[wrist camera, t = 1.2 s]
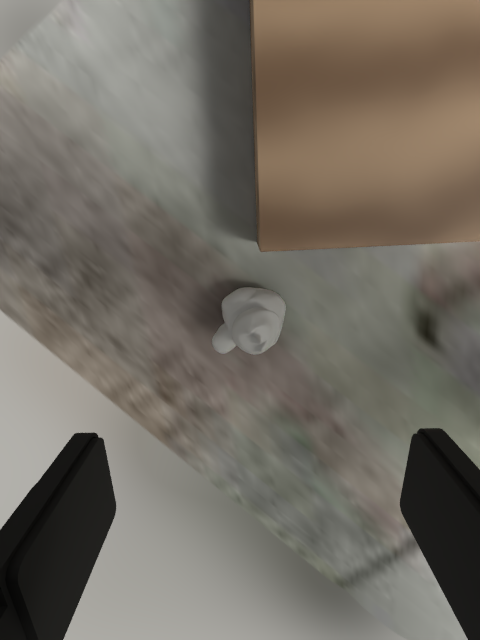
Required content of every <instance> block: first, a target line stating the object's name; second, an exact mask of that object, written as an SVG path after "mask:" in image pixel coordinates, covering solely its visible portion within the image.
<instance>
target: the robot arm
mask: <svg viewBox="0 0 480 640" xmlns="http://www.w3.org/2000/svg"><path fill="white" fill-rule="evenodd" d="M400 508H401V512H402V514H403V517H404V518H405V520H406V522H407V524H408V526H409V528H410V530H411V532H412V534H413V536H414V538H415V539H416V541H417V543H418V545H419V547H420V549H421V551H422V553H423V555H424V557H425V558H426V560H427V562H428V564H429V566H430V568H431V570H432V572H433V574H434V576H435V578H436V579H437V581H438V583H439V585H440V587H441V589H442V591H443V593H444V595H445V597H446V598H447V600H448V602H449V604H450V606H451V608H452V610H453V612H454V614H455V616H456V617H457V619H458V621H459V623H460V625H461V627H462V629H463V631H464V633H465V635H466V637H467V638H468V640H480V470H479V468H478V467H477V466H476V465H475V464H474V463H473V462H472V461H471V460H470V459H469V457H468V456H467V455H466V454H465V453H464V452H463V451H462V450H461V449H460V448H459V447H458V445H457V444H456V443H455V442H454V441H453V440H452V439H451V438H450V437H449V436H448V435H447V433H446V432H445V431H444V430H442V429H440V428H427V429H419V430H418V432H417V434H413V436H412V439H411V444H410V450H409V455H408V461H407V466H406V471H405V477H404V482H403V488H402V493H401V498H400ZM115 512H116V501H115V496H114V491H113V486H112V481H111V476H110V470H109V466H108V460H107V455H106V450H105V445H104V440H103V439H102V438H99V437H98V435H97V434H96V433H76V434H74V435H73V436H72V438H71V439H70V440H69V442H68V443H67V444H66V446H65V447H64V448H63V450H62V451H61V452H60V454H59V455H58V456H57V458H56V459H55V460H54V462H53V463H52V464H51V466H50V467H49V468H48V470H47V471H46V472H45V473H44V475H43V476H42V478H41V479H40V480H39V481H38V483H36V485H35V486H34V487H33V488H32V489H31V490H30V491H29V493H28V494H27V496H26V497H25V498H24V499H23V501H22V502H21V504H20V505H19V506H18V507H17V509H16V510H15V511H14V513H13V514H12V515H11V517H10V518H9V519H8V521H7V522H6V523H5V524H4V526H3V527H2V529H1V530H0V640H63V639H64V636H65V634H66V632H67V629H68V627H69V624H70V622H71V620H72V617H73V615H74V612H75V610H76V608H77V605H78V603H79V600H80V598H81V596H82V593H83V591H84V589H85V586H86V584H87V581H88V579H89V576H90V574H91V572H92V569H93V567H94V564H95V562H96V560H97V557H98V555H99V552H100V550H101V548H102V545H103V543H104V541H105V538H106V536H107V533H108V531H109V529H110V526H111V524H112V522H113V519H114V516H115Z"/></svg>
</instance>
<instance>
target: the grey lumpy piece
mask: <svg viewBox="0 0 480 640" xmlns="http://www.w3.org/2000/svg"><path fill="white" fill-rule="evenodd" d="M222 312H223V314H222V315H223V319H224V322H225V323H224V324H223V325H221V326H220V327H219V328H218V330H217V332H216V334H215V335H214V336H213V339H212V345H213V348H214V349H215V350H216V351H217V352H218V353H222V354H225V353H227V352H229V351H230V350H232V349H233V348H234V347H235V346H236V345H237V346H238V347H239V348H240V349H242V350H243V351H245V352H247V353H249V354H254V355H257V354H260V353H263V352H265V351H266V350H268V349H269V348H270V347H271V346H273V345H274V344H275V343H276V342H277V340H278V338H279V336H280V333H281V328H282V325H283V322H284V317H285V312H286V305H285V302H284V301H283V299H282V298H281V296H280V295H279V294H277V293H276V292H274V291H272V290H267V289H263V288H252V287H244V288H239V289H237V290H235V291H234V292H232V293H231V294H229V295H228V296H226V297H225V298H224V300H223V301H222Z"/></svg>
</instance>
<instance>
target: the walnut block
mask: <svg viewBox="0 0 480 640" xmlns="http://www.w3.org/2000/svg"><path fill="white" fill-rule="evenodd" d="M250 30H251V62H252V93H253V125H254V157H255V188H256V220H257V244H258V246H259V249H260V251H261V252H267V251H288V250H309V249H329V248H350V247H370V246H391V245H412V244H432V243H453V242H473V241H480V0H250Z"/></svg>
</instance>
